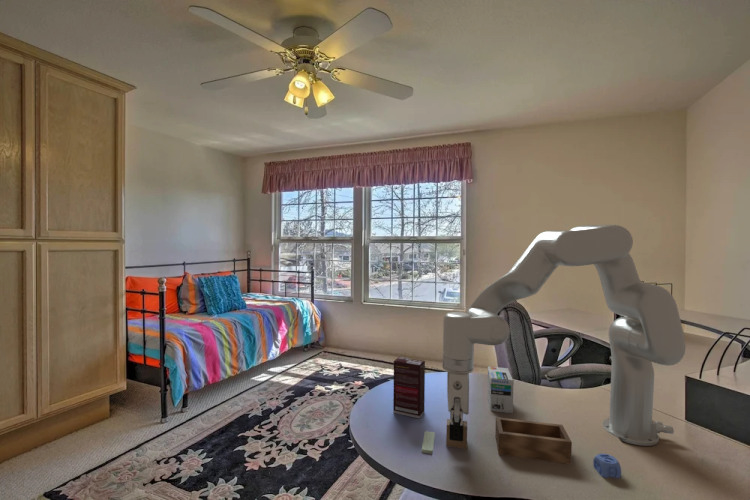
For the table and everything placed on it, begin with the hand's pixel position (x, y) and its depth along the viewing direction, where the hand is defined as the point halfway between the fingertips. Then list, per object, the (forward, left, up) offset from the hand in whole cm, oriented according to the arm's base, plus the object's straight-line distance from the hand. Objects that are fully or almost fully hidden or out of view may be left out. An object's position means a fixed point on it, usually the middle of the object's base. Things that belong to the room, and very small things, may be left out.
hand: (456, 429), depth 93 cm
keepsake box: (-18, -2, -4) cm, 19 cm away
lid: (0, 0, -5) cm, 5 cm away
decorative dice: (-33, +3, -5) cm, 34 cm away
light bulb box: (-13, -26, -5) cm, 29 cm away
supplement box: (+14, -15, -5) cm, 21 cm away
